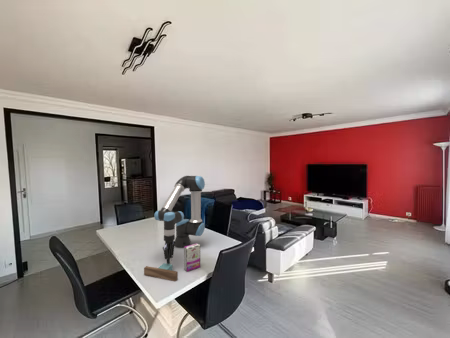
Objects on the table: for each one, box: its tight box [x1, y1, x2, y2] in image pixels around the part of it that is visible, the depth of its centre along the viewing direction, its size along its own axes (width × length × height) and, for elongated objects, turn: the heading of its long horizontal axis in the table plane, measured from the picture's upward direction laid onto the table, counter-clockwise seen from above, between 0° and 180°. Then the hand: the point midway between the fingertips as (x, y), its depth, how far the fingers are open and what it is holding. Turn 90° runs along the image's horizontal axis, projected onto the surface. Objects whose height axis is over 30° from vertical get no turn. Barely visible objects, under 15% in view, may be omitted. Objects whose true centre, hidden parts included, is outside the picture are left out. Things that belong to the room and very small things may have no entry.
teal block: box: [158, 262, 173, 271], centre depth 139 cm, size 7×7×4 cm
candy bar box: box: [183, 243, 201, 273], centre depth 145 cm, size 11×5×16 cm, turn 126°
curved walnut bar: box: [143, 265, 179, 282], centre depth 133 cm, size 2×24×5 cm, turn 74°
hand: (169, 267), depth 143 cm, fingers closed
